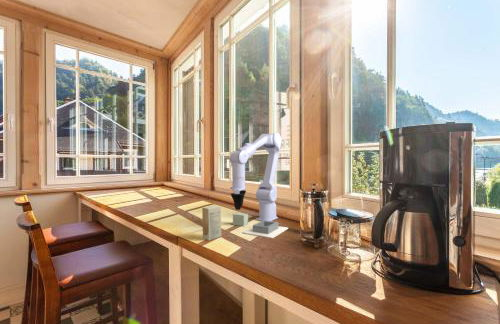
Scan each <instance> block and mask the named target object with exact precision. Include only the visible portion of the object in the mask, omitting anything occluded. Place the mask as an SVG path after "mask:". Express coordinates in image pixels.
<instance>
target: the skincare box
mask: <svg viewBox="0 0 500 324" xmlns="http://www.w3.org/2000/svg"><path fill="white" fill-rule="evenodd" d="M201 211H202V212H201V213H202V216H201V217H202V238H203V239H204V240H207V241H211V240H215V239H218V238H220V237H221V238H222V212H221V211H222V208H221V205H220V206H219V205H214V204H213V205H207V206H203V207H202V208H201Z"/></svg>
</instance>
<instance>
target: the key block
mask: <svg viewBox="0 0 500 324" xmlns="http://www.w3.org/2000/svg"><path fill="white" fill-rule="evenodd" d="M232 225H233V226H239V227H245V226H246V227H247V226H248V225H249V214H248V213H242V212H241V213H239V212H235V213H233V214H232Z"/></svg>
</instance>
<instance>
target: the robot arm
mask: <svg viewBox="0 0 500 324" xmlns="http://www.w3.org/2000/svg"><path fill="white" fill-rule="evenodd" d="M282 142H283V139H282V136H281V134H280V133H279V132H275V133H273V132H271V133H261V135H259V137H258V138H256V139H255V140H254V141H253V142H251V143H250V142H245V143H244V145H243V146H242V147H239V148H238V150H235V151H232V152H230V156H229V157H228V158H229V162H230V165H231V166H230V167H231V169H232V170H231V171H232V172H231V173H232V175H231V176H232V177H231V178H232V180H231V181H232V184H231V185H232V186H230V187H229V190H232V191H233V192H231V194H230V196H231V198H232V200H233V204H234V208H235V210H236V211H238V210H239V211H240V210H241V208H242V207H243V205H244V199H245V195H246V193H247V190H246V163H248V160H249V158H250V157H252V156H253V155H255V153H256V151H257V149H259V148H260V147H263V148H264V149H265V151H266V152H268V153H267V154H268V156H267V160H266V165H265V169H264V177H263V181H262V182H261V183H260V184H259V185H258V188H257V190H256V192H255V197H256V199H257V201H258V203H259V210H258V213H259V217H257V218H256V219H255V220H256V221H263V220H265V221H272V222H273V221H275V220H277V219H279V217H278V216H277V204H276V202H275V201H277V198H278V187H277V186H276V185H275V184H274V183H275V182H274V181H275V177H276V171H277V166H278V161H279V157H280V150H281V147H282Z"/></svg>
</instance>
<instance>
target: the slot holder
mask: <svg viewBox="0 0 500 324" xmlns="http://www.w3.org/2000/svg"><path fill="white" fill-rule="evenodd" d="M279 224H280V223H279V221H273V220H272V221H265V220H263V221H262V220H260V222H257V223H254V224H253V225H252V227H250V228H247V229H246V230H244V231H242V232H241V234H245V235H251V236H257V237H260V238H261V237H262V238H268V239H274V238H275V237H277V236H279V235H281V234H282V233H283V232H285V231H286V230H288V229H289V227H288V226H287V227H286V226H279Z"/></svg>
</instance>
